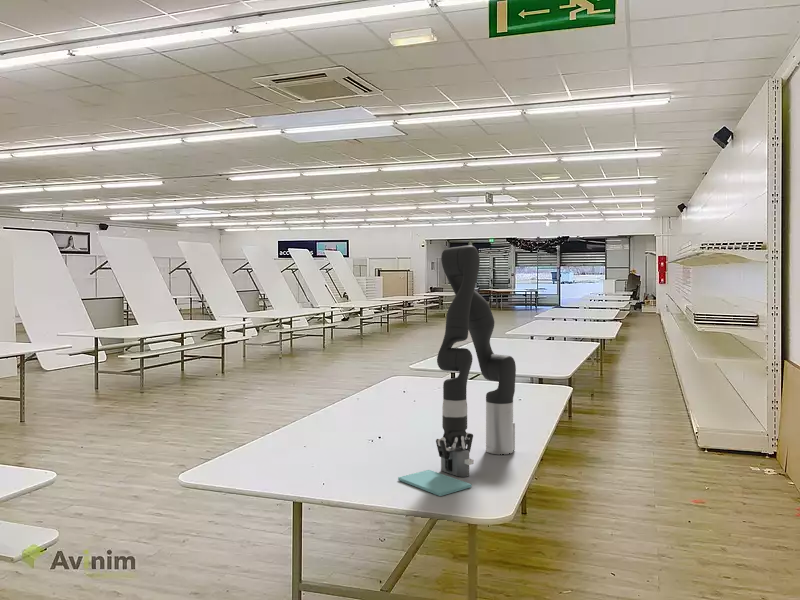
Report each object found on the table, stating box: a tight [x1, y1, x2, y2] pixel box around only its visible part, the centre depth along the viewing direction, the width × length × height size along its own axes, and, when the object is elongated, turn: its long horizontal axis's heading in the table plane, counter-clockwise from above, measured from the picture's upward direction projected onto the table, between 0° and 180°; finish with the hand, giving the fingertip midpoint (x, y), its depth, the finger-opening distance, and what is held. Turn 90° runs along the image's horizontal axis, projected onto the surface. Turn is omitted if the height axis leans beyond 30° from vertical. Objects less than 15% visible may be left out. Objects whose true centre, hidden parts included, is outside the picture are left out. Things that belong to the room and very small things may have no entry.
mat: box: [397, 469, 472, 497], centre depth 178 cm, size 12×18×1 cm, turn 39°
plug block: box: [440, 447, 475, 478], centre depth 187 cm, size 4×12×7 cm, turn 39°
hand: (454, 469), depth 188 cm, fingers closed on plug block, 4 cm apart
